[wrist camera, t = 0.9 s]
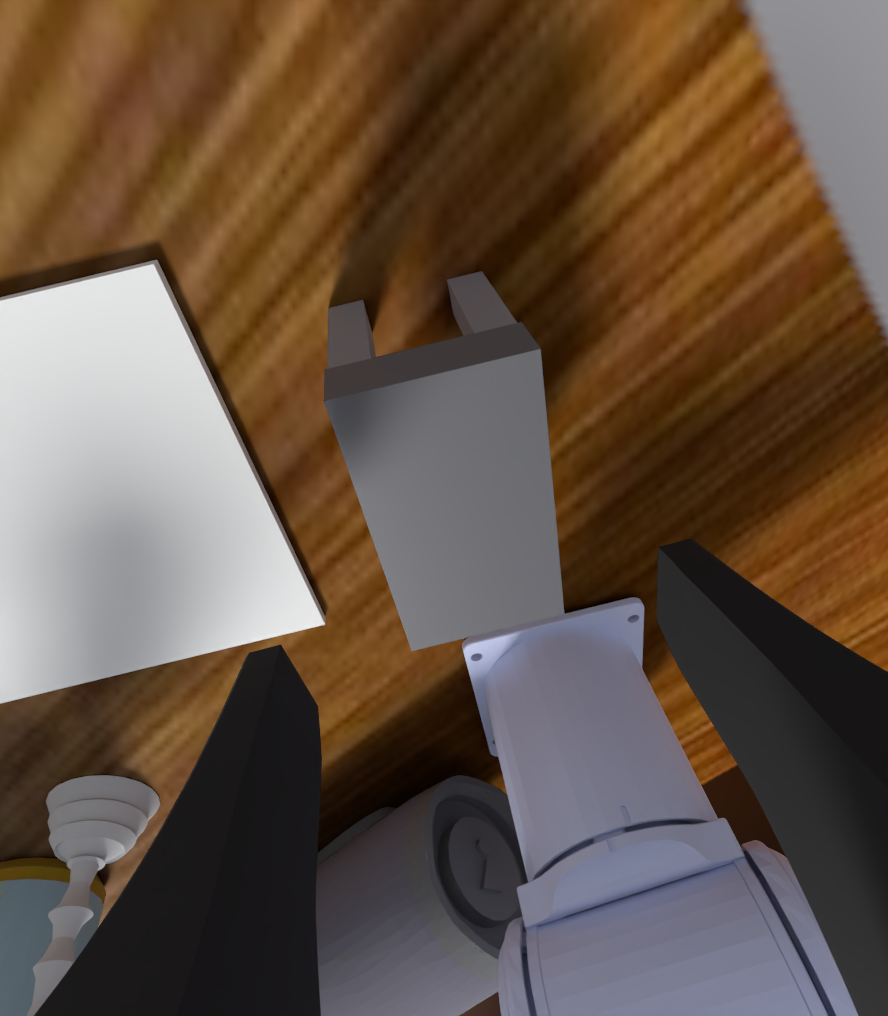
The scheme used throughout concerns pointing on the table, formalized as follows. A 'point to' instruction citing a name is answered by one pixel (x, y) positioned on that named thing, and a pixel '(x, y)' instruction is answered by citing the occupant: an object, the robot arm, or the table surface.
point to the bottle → (34, 924)
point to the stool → (451, 466)
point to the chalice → (87, 856)
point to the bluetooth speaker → (418, 904)
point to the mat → (126, 493)
